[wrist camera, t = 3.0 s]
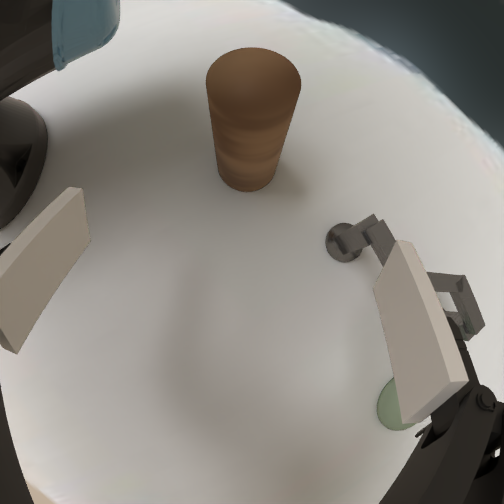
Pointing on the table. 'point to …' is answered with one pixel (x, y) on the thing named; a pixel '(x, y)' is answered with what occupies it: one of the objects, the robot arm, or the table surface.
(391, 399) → the pad
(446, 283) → the grey bent handle
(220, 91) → the dowel
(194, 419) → the table surface
